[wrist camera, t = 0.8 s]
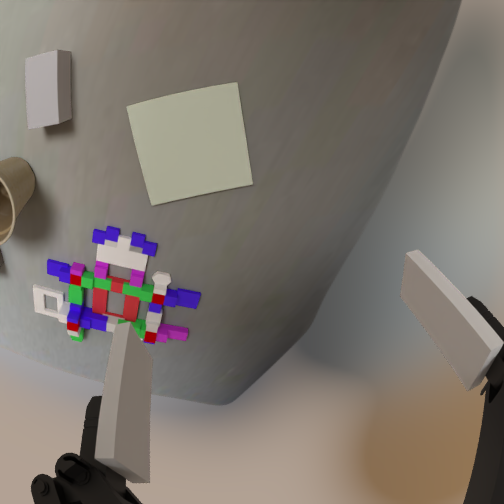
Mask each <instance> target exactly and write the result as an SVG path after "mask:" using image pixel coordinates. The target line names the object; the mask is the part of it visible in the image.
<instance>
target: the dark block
mask: <svg viewBox="0 0 504 504" xmlns="http://www.w3.org/2000/svg"><path fill="white" fill-rule="evenodd" d="M3 263H4V260H3V257H2V253H1V250H0V267H1V266H2V264H3Z"/></svg>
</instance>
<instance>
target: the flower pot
mask: <svg viewBox="0 0 504 504" xmlns="http://www.w3.org/2000/svg"><path fill="white" fill-rule="evenodd" d="M34 188H35V177H34V173H33V172H32V170H31V168H30V166H29V164H28V163H27V162H26V161H25V160H23V159H21V158H18V157H11V158H8V159H5V160H3V161H0V245H2V244H3V243H5V242H6V241H7V240H8V239H9V237H10V236H11V234H12V232H13V230H14V227H15V222H16V219H17V216H18V215H19V213H20V212H21V210H22V209H23V207H24V206H25V204H26V203H27V201H28V200H29V199H30V197H31V196H32V194H33V192H34Z"/></svg>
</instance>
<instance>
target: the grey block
mask: <svg viewBox="0 0 504 504" xmlns="http://www.w3.org/2000/svg"><path fill="white" fill-rule="evenodd" d="M25 79H26V107H27V121H28V130H29V129H34V128H38V127H43V126H49V125H54V124H59V123H62V122H64V121H67V120H69V119H72V110H71V52H70V51H63V50H55V51H51V52H47V53H43V54H39V55H36V56H32V57H29V58H26V64H25Z"/></svg>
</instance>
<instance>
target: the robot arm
mask: <svg viewBox="0 0 504 504" xmlns="http://www.w3.org/2000/svg"><path fill="white" fill-rule="evenodd" d="M400 297H401V298H402V299H403V301H404V302H405V303H406V305H407V306H408V307H409V309H410V310H411V311H412V313H413V314H414V315H415V317H416V318H417V319H418V321H419V322H420V323H421V325H422V326H423V327H424V328H425V330H426V332H427V333H428V334H429V336H430V337H431V338H432V340H433V341H434V343H435V344H436V345H437V347H438V348H439V350H440V351H441V353H442V354H443V355H444V357H445V358H446V360H447V361H448V363H449V364H450V365H451V367H452V368H453V370H454V372H455V373H456V375H457V376H458V378H459V379H460V380H461V382H462V384H463V385H464V386H465V388H466V390H467V391H469V390H471V389H473V388H474V387H476V386H478V385H479V384H480V383H481V382H482V380H483V379H484V377H485V376H486V377H487V379H488V382H487V383H486V385H485V386H484V388H483V389H482V391H481V394H480V395H483V393H484V392H485V390H486V394H485V403H484V412H483V419H482V426H481V432H480V437H479V443H478V448H477V453H476V458H475V462H474V466H473V470H472V475H471V479H470V482H469V486H468V489H467V493H466V497H465V500H464V503H463V504H504V327H503V326H502V325H501V324H500V322H499V321H498V320H497V319H496V318H495V317H493V315H492V313H491V312H490V311H488V309H487V308H486V307H485V306H484V305H483V303H482V302H480V301H479V300H477V299H475V298H474V297H472V296H471V297H468V298H465V297H464V296H463V295H462V293H461V292H460V291H459V290H458V289H457V288H456V287H455V286H454V285H453V284H452V283H451V282H450V281H449V280H448V279H447V278H446V277H445V276H444V275H443V274H442V273H441V272H440V270H439V269H437V267H436V266H434V264H433V263H432V262H431V261H430V260H429V259H428V258H427V257H426V256H424V255H423V254H422V253H421V252H420V251H419V250H414V251H411V252H408V253H406V256H405V264H404V272H403V280H402V286H401V294H400ZM152 366H153V359H152V357H151V356H150V354H149V353H148V351H147V349H146V348H145V346H144V344H143V343H142V341H141V339H140V338H139V336H138V334H137V333H136V331H135V329H134V327H133V326H132V324H131V322H126V323H121V324H116V326H115V330H114V335H113V340H112V344H111V349H110V354H109V360H108V365H107V370H106V376H105V382H104V388H103V394H102V396H94V397H92V398H91V400H90V402H89V404H88V406H87V409H86V415H85V419H86V420H85V421H84V429H83V435H82V443H81V450H80V456H78V455H77V454H74V453H66V454H64V455H62V456H61V457H60V458H59V459H58V460H57V463H56V465H55V473H56V476H57V477H56V478H51V477H50V476H48V475H45V474H40V475H38V476H36V477H35V478H34V480H33V481H32V485H31V492H32V496H33V499H34V503H35V504H142V503H141V502H140V501H139V499H138V498H137V497H136V496H135V495H134V494H133V493H132V492H131V490H130V489H129V488H128V487H126V479H127V480H128V481H130V482H132V483H150V455H149V454H150V405H151V383H152Z"/></svg>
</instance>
